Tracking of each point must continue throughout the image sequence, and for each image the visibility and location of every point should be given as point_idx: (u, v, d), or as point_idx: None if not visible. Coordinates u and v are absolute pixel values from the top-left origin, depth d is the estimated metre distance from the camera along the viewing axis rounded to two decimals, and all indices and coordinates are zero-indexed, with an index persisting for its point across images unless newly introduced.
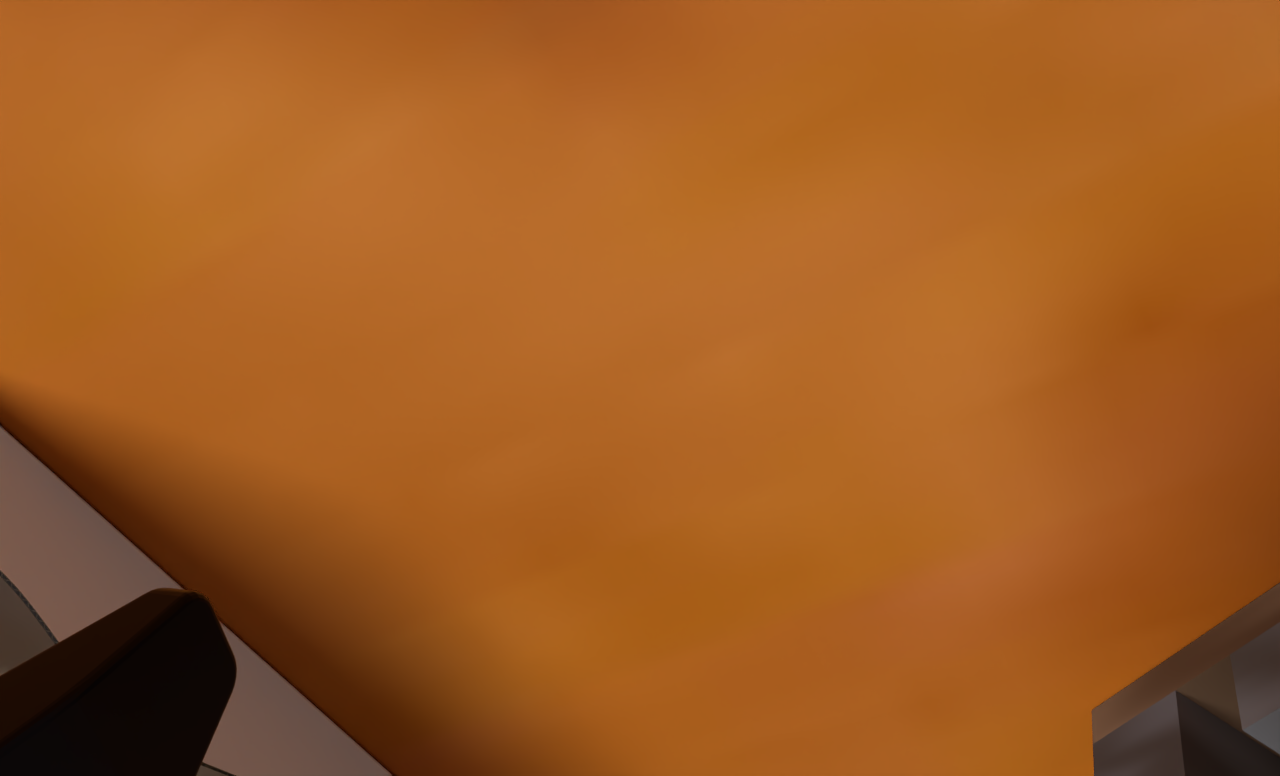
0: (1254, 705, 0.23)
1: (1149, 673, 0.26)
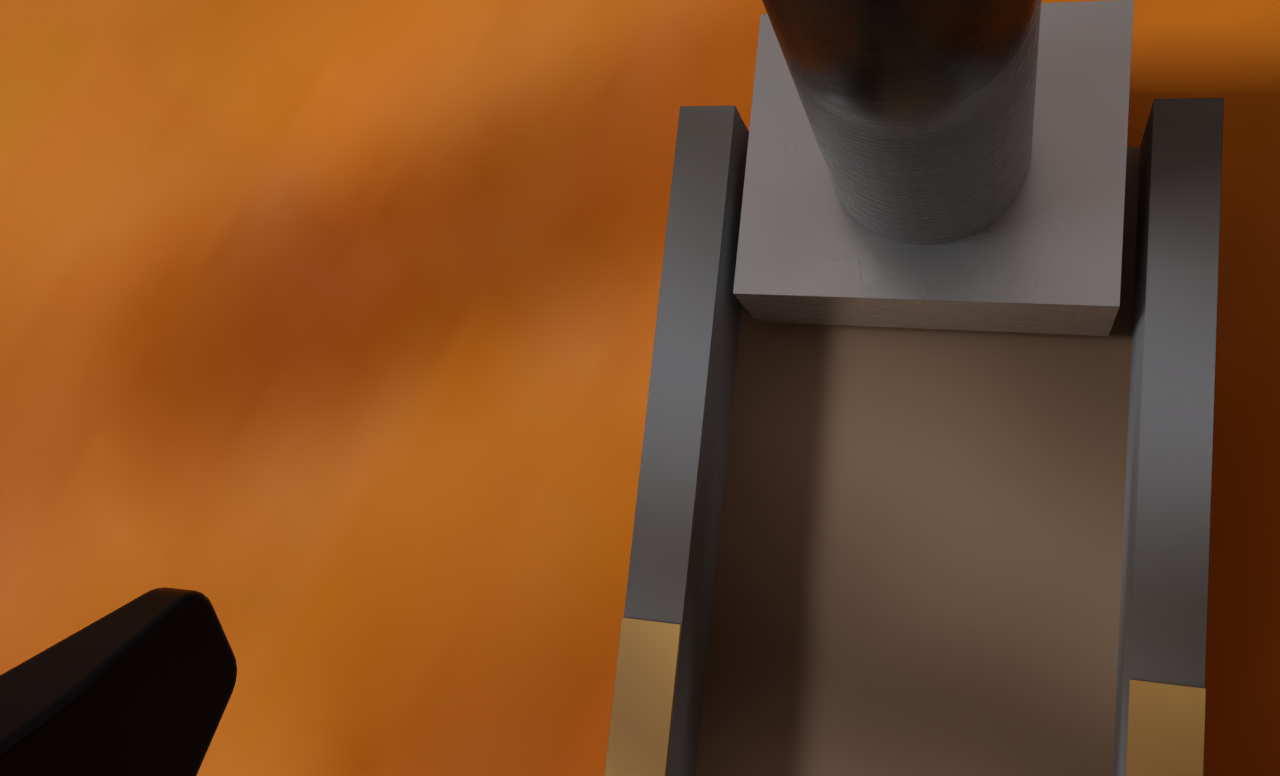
0: None
1: None
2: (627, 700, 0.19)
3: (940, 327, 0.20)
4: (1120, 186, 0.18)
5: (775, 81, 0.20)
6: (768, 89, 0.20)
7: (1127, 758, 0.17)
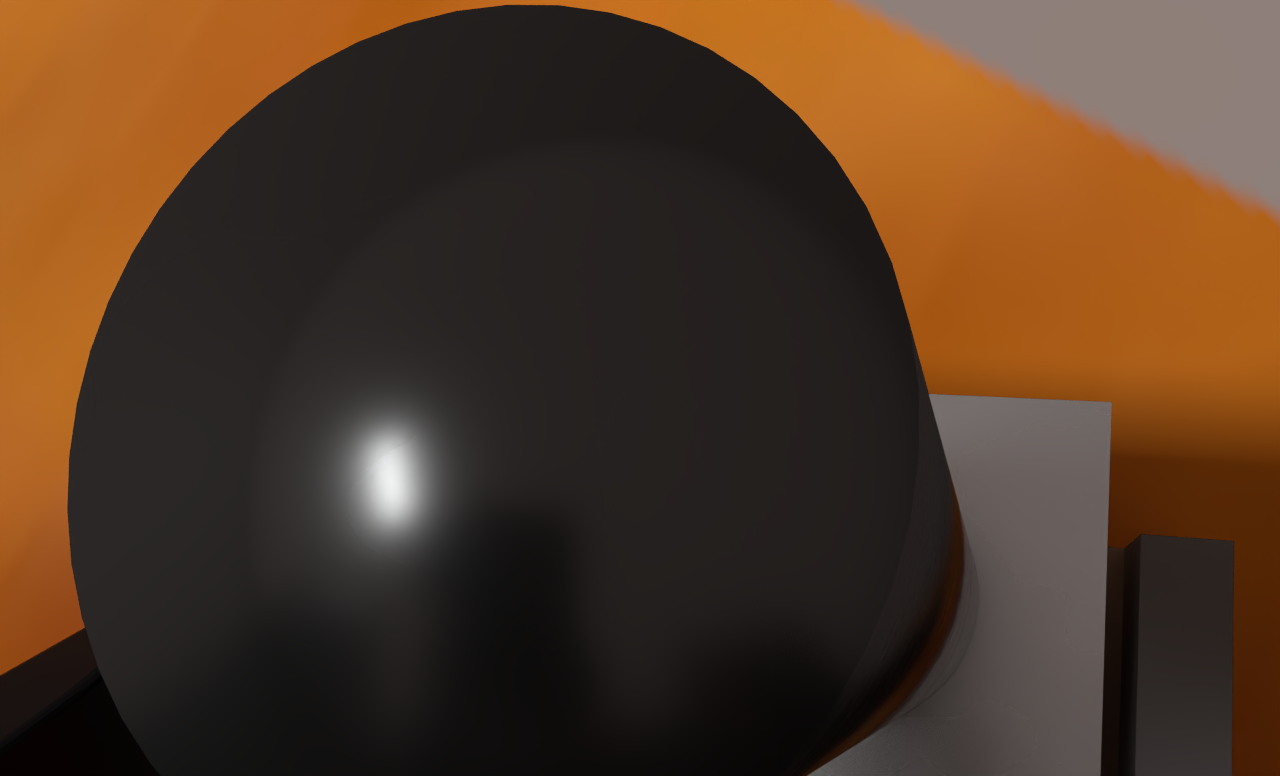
0: None
1: None
2: None
3: None
4: (1097, 667, 0.14)
5: None
6: None
7: None
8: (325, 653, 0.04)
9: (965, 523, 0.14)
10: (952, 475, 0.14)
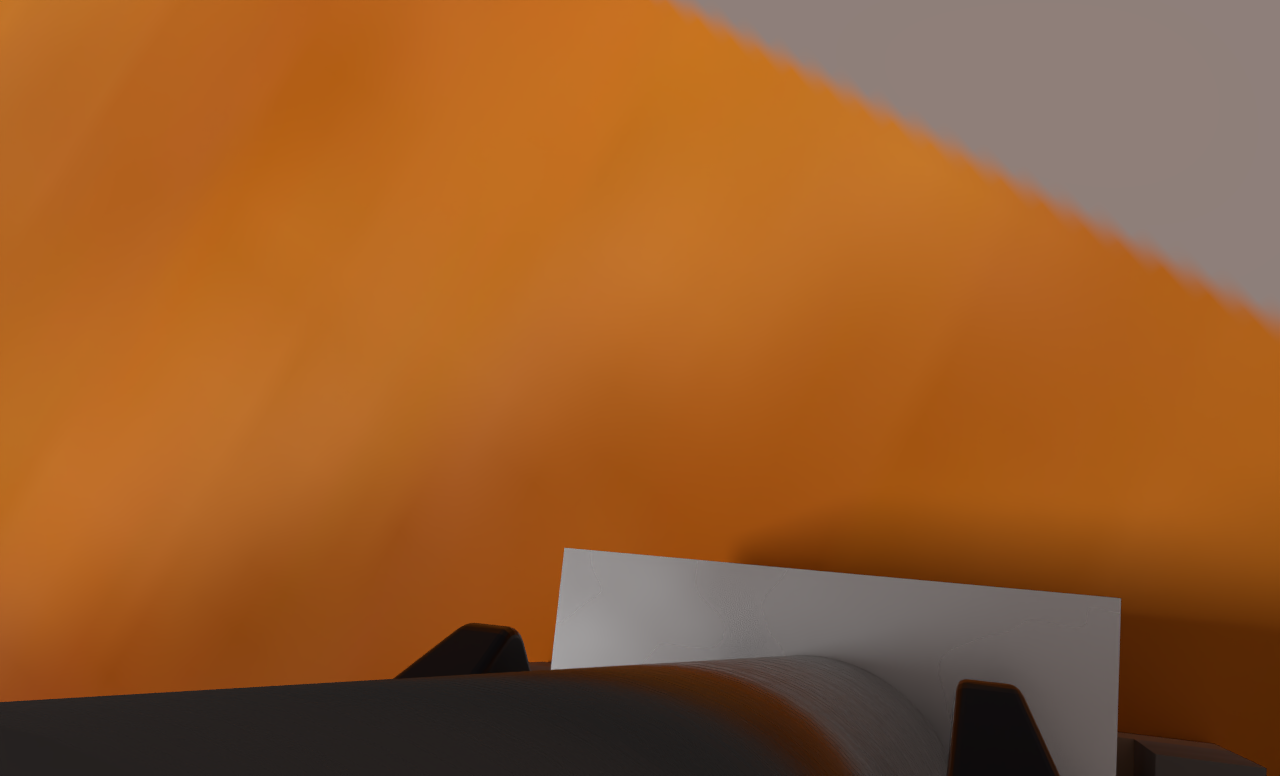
0: None
1: None
2: None
3: None
4: None
5: (582, 661, 0.13)
6: None
7: None
8: None
9: (948, 738, 0.12)
10: (933, 679, 0.12)
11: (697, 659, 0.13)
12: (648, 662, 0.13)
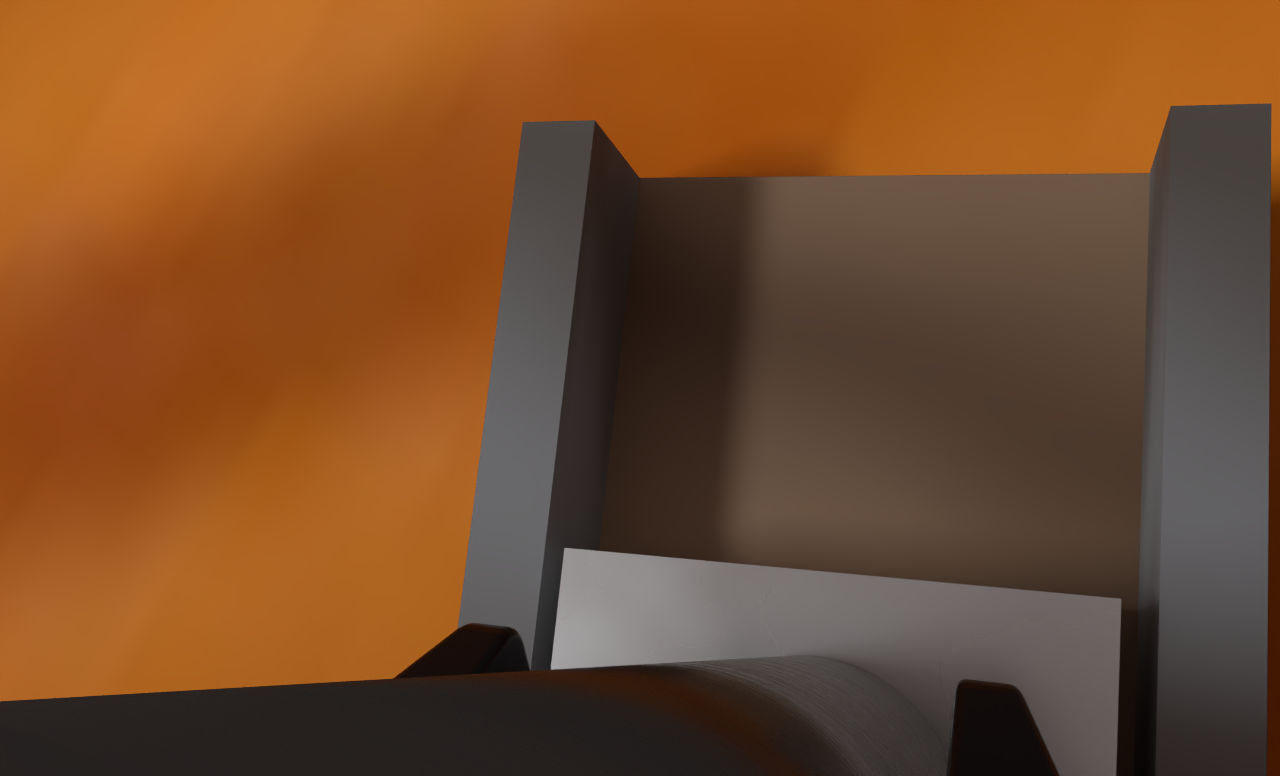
0: None
1: None
2: None
3: None
4: None
5: (582, 661, 0.13)
6: None
7: None
8: None
9: (948, 739, 0.12)
10: (933, 679, 0.12)
11: (697, 659, 0.13)
12: (648, 662, 0.13)
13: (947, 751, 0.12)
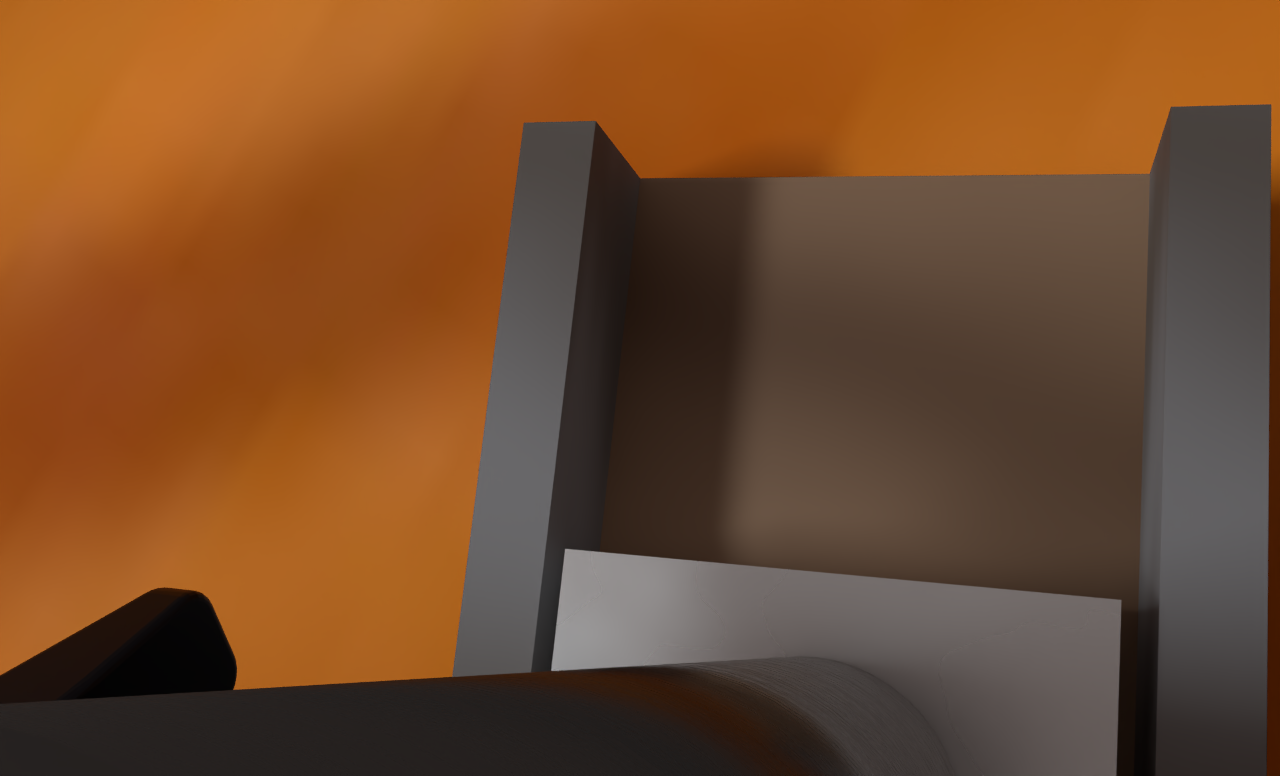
0: None
1: None
2: None
3: None
4: None
5: (583, 662, 0.13)
6: None
7: None
8: None
9: (948, 740, 0.12)
10: (933, 680, 0.12)
11: (697, 660, 0.13)
12: (648, 663, 0.13)
13: (947, 752, 0.12)
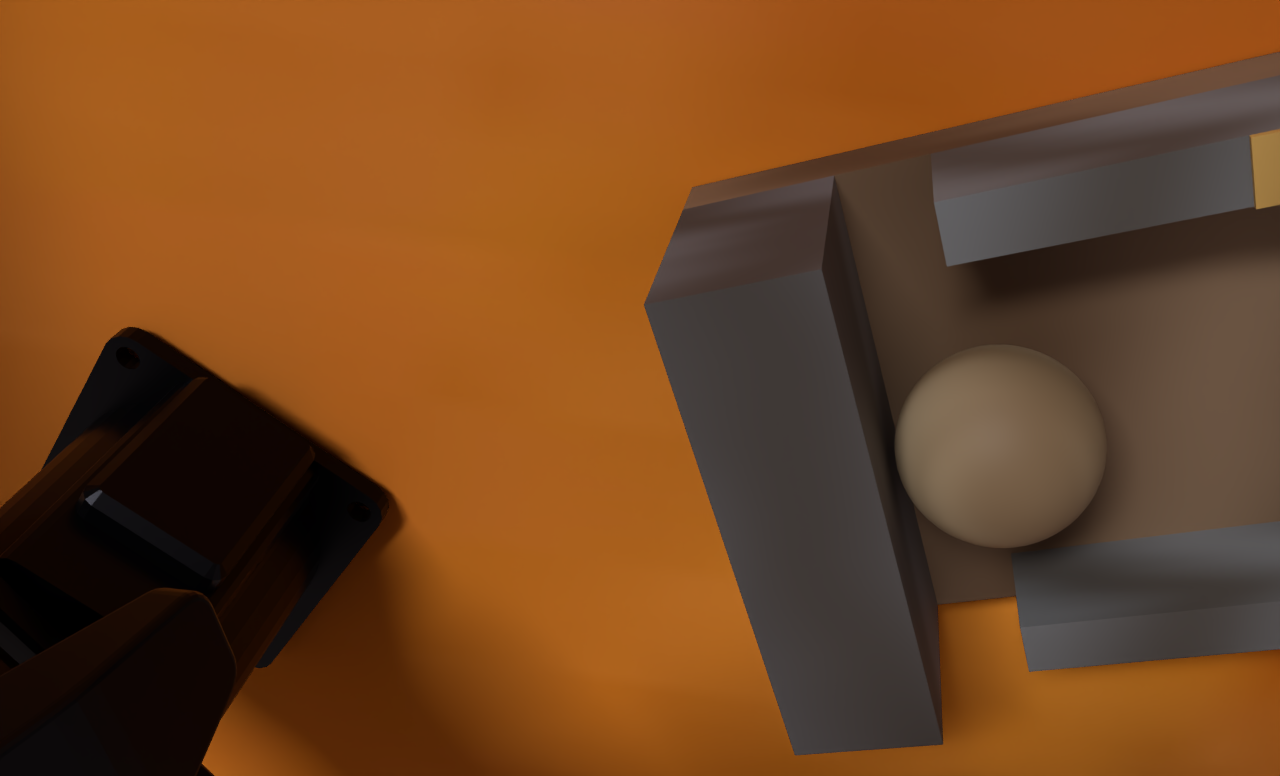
0: (959, 186, 0.17)
1: (796, 164, 0.20)
2: None
3: None
4: None
5: None
6: None
7: None
8: None
9: None
10: None
11: None
12: None
13: None
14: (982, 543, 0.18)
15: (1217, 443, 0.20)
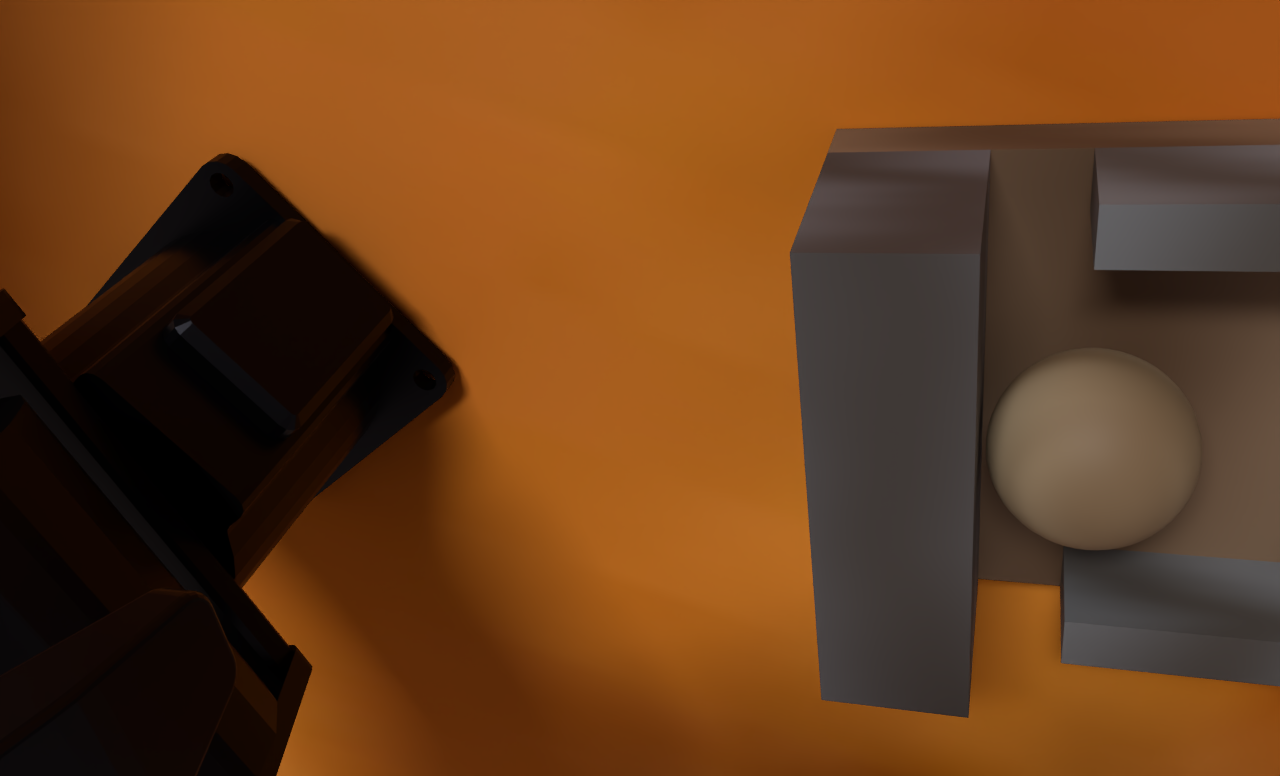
0: (1127, 192, 0.16)
1: (949, 128, 0.19)
2: None
3: None
4: None
5: None
6: None
7: None
8: None
9: None
10: None
11: None
12: None
13: None
14: (1057, 541, 0.18)
15: None
